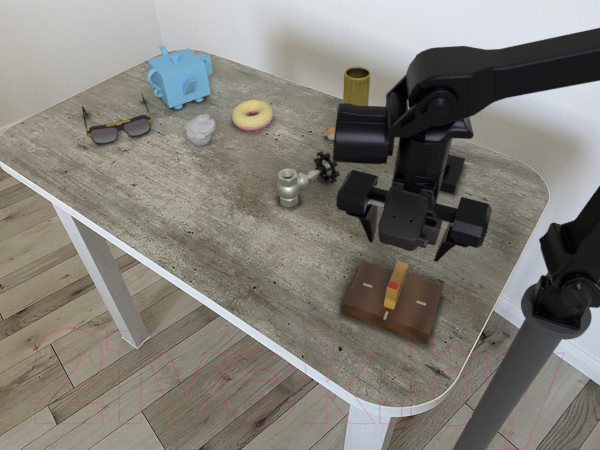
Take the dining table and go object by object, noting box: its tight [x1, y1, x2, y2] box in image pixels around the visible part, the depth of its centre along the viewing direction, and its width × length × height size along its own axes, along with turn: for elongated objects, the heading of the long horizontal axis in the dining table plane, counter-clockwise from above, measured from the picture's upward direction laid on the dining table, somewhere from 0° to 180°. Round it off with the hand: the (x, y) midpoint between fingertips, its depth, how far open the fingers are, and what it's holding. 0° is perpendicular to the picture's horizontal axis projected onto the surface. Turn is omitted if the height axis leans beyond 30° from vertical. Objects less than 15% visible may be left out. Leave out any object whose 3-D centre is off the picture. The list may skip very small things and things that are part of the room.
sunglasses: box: [81, 93, 153, 145], centre depth 110 cm, size 14×15×5 cm
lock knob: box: [384, 260, 409, 310], centre depth 71 cm, size 6×2×5 cm, turn 156°
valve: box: [276, 150, 341, 208], centre depth 91 cm, size 7×7×12 cm
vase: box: [342, 66, 371, 106], centre depth 102 cm, size 6×6×14 cm
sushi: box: [322, 125, 336, 141], centre depth 105 cm, size 3×6×3 cm, turn 88°
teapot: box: [146, 44, 213, 110], centre depth 115 cm, size 16×18×11 cm
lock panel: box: [341, 260, 444, 345], centre depth 74 cm, size 13×10×3 cm
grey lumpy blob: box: [183, 113, 217, 147], centre depth 103 cm, size 6×7×7 cm
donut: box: [231, 99, 274, 132], centre depth 110 cm, size 10×5×9 cm
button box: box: [439, 153, 466, 195], centre depth 95 cm, size 11×9×4 cm
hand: (403, 249), depth 68 cm, fingers open, 9 cm apart
